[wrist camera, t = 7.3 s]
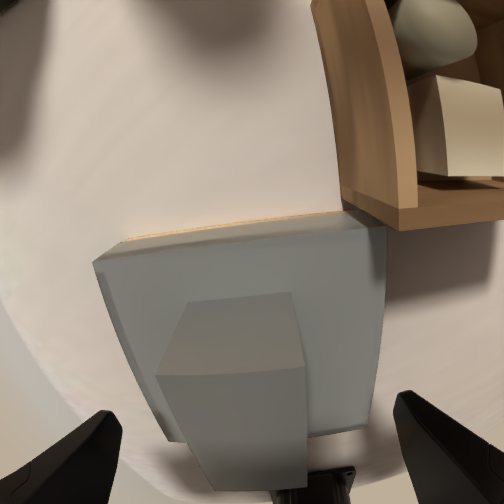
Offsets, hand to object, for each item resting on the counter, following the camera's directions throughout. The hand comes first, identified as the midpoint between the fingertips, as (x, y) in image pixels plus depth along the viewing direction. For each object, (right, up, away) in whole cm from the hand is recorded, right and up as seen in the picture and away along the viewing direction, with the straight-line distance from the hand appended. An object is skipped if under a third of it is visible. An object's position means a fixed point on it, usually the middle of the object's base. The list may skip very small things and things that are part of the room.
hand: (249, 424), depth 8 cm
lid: (0, +2, +5) cm, 5 cm away
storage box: (+7, +11, +2) cm, 13 cm away
